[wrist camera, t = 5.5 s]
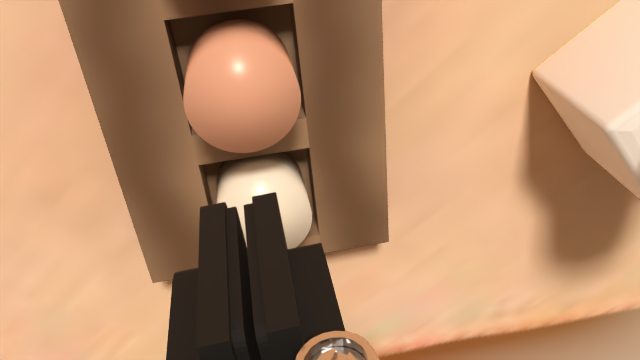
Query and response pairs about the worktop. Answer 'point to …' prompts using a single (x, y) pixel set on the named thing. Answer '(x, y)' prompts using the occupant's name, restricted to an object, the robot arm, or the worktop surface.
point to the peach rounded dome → (240, 87)
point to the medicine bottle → (601, 90)
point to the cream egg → (268, 190)
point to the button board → (206, 160)
